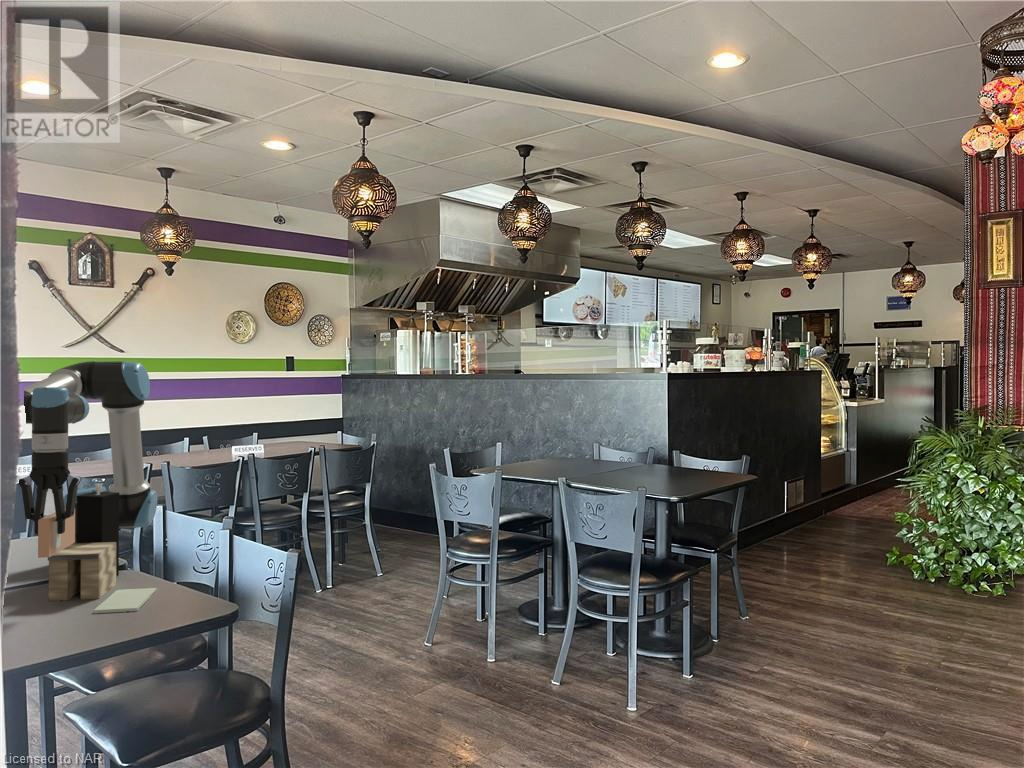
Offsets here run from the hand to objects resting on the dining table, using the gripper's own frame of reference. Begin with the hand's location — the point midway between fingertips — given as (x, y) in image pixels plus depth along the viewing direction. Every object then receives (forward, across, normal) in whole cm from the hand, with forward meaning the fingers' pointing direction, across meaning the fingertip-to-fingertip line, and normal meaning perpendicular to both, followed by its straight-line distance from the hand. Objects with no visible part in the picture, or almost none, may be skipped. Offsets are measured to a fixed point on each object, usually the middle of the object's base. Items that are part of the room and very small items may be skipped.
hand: (49, 547), depth 177 cm
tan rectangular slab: (+2, 0, +4) cm, 5 cm away
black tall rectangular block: (+18, -1, +36) cm, 40 cm away
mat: (+17, +14, +11) cm, 25 cm away
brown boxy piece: (+17, 0, +22) cm, 28 cm away
